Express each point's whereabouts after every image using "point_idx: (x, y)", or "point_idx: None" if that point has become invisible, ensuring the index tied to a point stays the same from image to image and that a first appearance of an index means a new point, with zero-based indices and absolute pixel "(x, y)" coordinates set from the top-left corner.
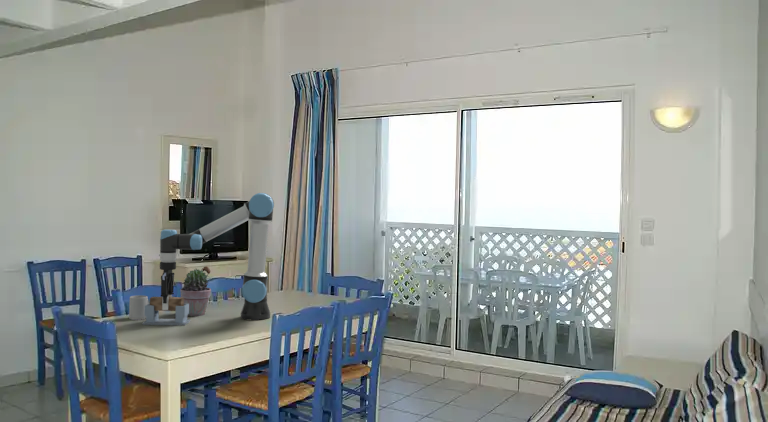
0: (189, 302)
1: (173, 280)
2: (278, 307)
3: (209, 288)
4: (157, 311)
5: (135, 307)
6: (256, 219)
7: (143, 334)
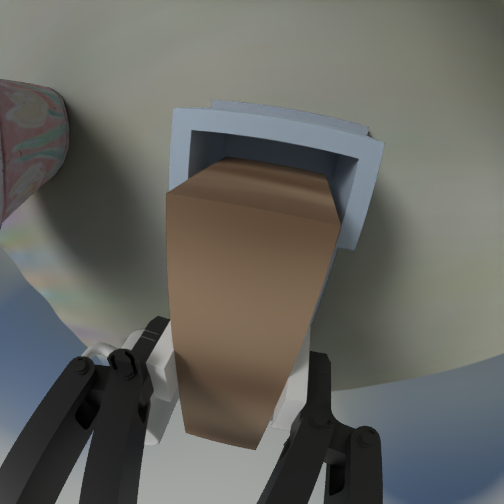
0: (18, 169)
1: (9, 466)
2: None
3: None
4: None
5: (173, 405)
6: None
7: (495, 313)
